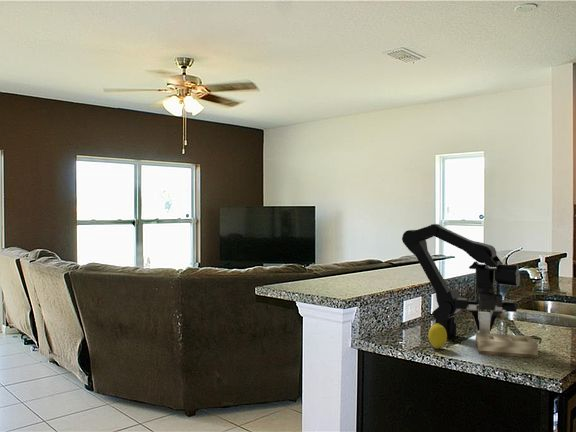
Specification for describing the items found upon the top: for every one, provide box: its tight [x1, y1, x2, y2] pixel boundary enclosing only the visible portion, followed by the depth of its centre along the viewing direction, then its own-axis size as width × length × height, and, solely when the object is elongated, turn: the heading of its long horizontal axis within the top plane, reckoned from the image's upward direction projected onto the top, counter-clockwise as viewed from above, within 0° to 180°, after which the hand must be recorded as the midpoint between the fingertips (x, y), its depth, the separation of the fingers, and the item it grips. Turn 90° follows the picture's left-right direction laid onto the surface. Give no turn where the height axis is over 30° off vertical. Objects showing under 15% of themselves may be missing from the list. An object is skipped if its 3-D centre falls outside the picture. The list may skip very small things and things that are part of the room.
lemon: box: [427, 323, 448, 350], centre depth 155 cm, size 6×6×8 cm
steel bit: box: [477, 311, 491, 334], centre depth 164 cm, size 3×3×8 cm
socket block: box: [475, 332, 539, 359], centre depth 153 cm, size 16×10×4 cm, turn 76°
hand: (484, 330), depth 164 cm, fingers closed on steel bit, 3 cm apart
